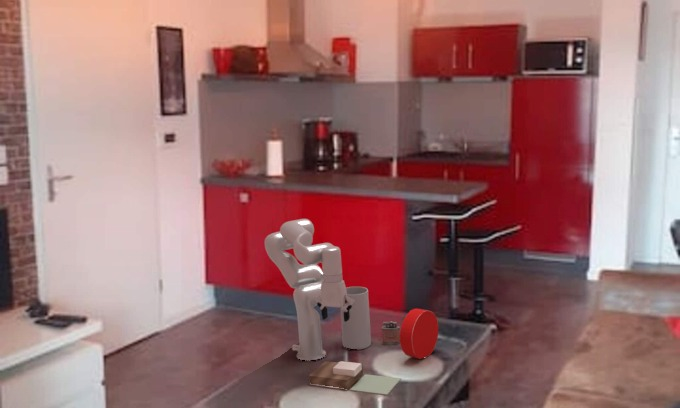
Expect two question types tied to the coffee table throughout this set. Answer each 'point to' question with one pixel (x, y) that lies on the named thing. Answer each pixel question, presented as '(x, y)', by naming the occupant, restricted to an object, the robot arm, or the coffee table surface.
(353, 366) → the tile
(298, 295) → the robot arm
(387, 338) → the lighter
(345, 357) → the coffee table surface
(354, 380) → the plate
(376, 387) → the mat
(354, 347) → the cylinder vase
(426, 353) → the toy clock
